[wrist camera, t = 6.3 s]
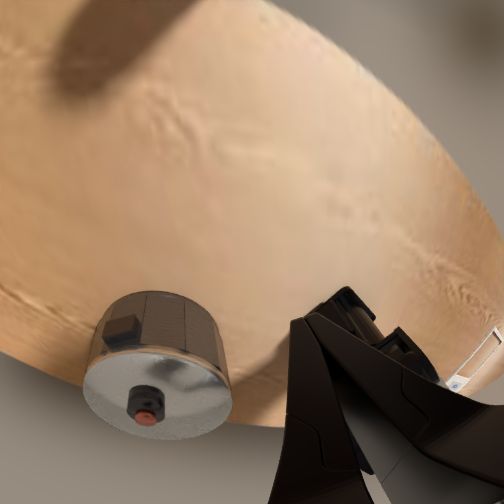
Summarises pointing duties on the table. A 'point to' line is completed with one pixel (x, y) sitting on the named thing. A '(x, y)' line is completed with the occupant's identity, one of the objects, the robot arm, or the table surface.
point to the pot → (160, 327)
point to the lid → (157, 392)
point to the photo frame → (458, 381)
